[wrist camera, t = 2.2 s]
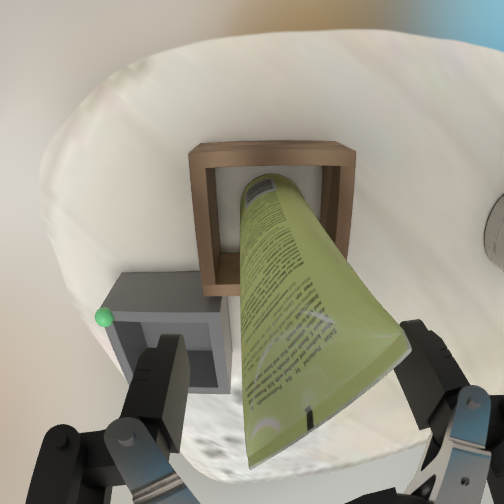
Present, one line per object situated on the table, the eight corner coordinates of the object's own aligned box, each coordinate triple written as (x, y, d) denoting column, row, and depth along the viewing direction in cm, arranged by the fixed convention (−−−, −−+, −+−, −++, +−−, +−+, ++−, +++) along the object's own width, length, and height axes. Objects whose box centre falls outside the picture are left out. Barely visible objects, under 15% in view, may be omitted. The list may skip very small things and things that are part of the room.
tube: (306, 232, 26) (384, 449, 9) (247, 242, 26) (247, 473, 9) (297, 167, 24) (415, 348, 6) (233, 178, 24) (199, 387, 7)
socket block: (224, 267, 28) (218, 317, 21) (232, 350, 32) (229, 402, 26) (118, 270, 28) (89, 315, 21) (141, 348, 32) (125, 396, 26)
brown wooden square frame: (335, 141, 23) (356, 151, 18) (328, 260, 27) (342, 291, 23) (200, 143, 23) (188, 153, 18) (210, 263, 27) (203, 296, 23)
